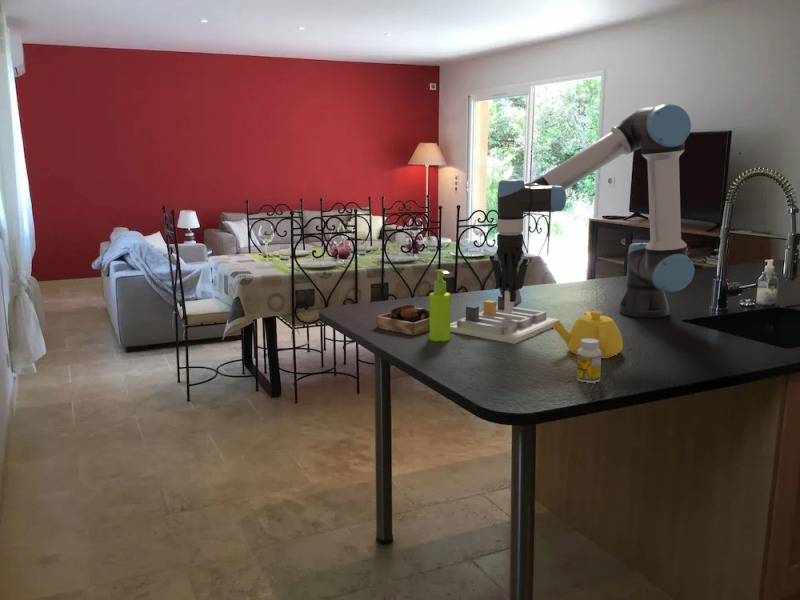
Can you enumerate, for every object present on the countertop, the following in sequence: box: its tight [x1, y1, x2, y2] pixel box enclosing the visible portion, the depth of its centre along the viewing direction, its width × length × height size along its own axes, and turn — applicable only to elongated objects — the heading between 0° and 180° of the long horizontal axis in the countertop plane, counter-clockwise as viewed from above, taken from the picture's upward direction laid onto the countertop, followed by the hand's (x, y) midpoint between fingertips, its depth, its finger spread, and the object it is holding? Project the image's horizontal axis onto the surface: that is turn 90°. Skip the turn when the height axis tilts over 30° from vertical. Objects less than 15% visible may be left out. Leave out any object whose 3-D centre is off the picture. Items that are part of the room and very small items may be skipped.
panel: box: [450, 305, 561, 345], centre depth 208 cm, size 24×27×4 cm
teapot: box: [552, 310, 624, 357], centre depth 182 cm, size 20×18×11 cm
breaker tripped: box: [482, 299, 497, 317], centre depth 211 cm, size 3×3×6 cm
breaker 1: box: [465, 304, 480, 322], centre depth 204 cm, size 3×3×6 cm
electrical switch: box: [498, 288, 523, 307], centre depth 240 cm, size 9×5×9 cm, turn 152°
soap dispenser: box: [429, 268, 451, 342], centre depth 194 cm, size 6×7×20 cm
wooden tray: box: [375, 306, 430, 336], centre depth 211 cm, size 15×17×4 cm
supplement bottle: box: [576, 338, 602, 384], centre depth 160 cm, size 5×5×10 cm
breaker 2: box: [497, 294, 505, 310], centre depth 218 cm, size 3×3×6 cm
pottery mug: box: [390, 304, 430, 323], centre depth 209 cm, size 12×10×8 cm
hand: (508, 311), depth 207 cm, fingers closed
